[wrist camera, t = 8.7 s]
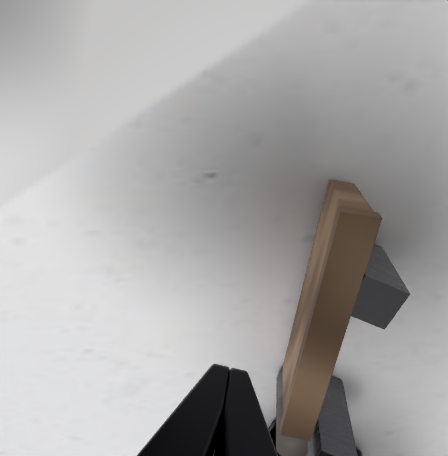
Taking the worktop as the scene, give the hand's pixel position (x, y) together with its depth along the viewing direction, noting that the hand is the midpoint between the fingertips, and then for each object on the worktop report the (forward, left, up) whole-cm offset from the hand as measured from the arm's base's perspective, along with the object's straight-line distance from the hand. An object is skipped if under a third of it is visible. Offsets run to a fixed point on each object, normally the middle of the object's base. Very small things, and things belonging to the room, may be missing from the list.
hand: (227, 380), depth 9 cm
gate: (-5, +3, -11) cm, 12 cm away
